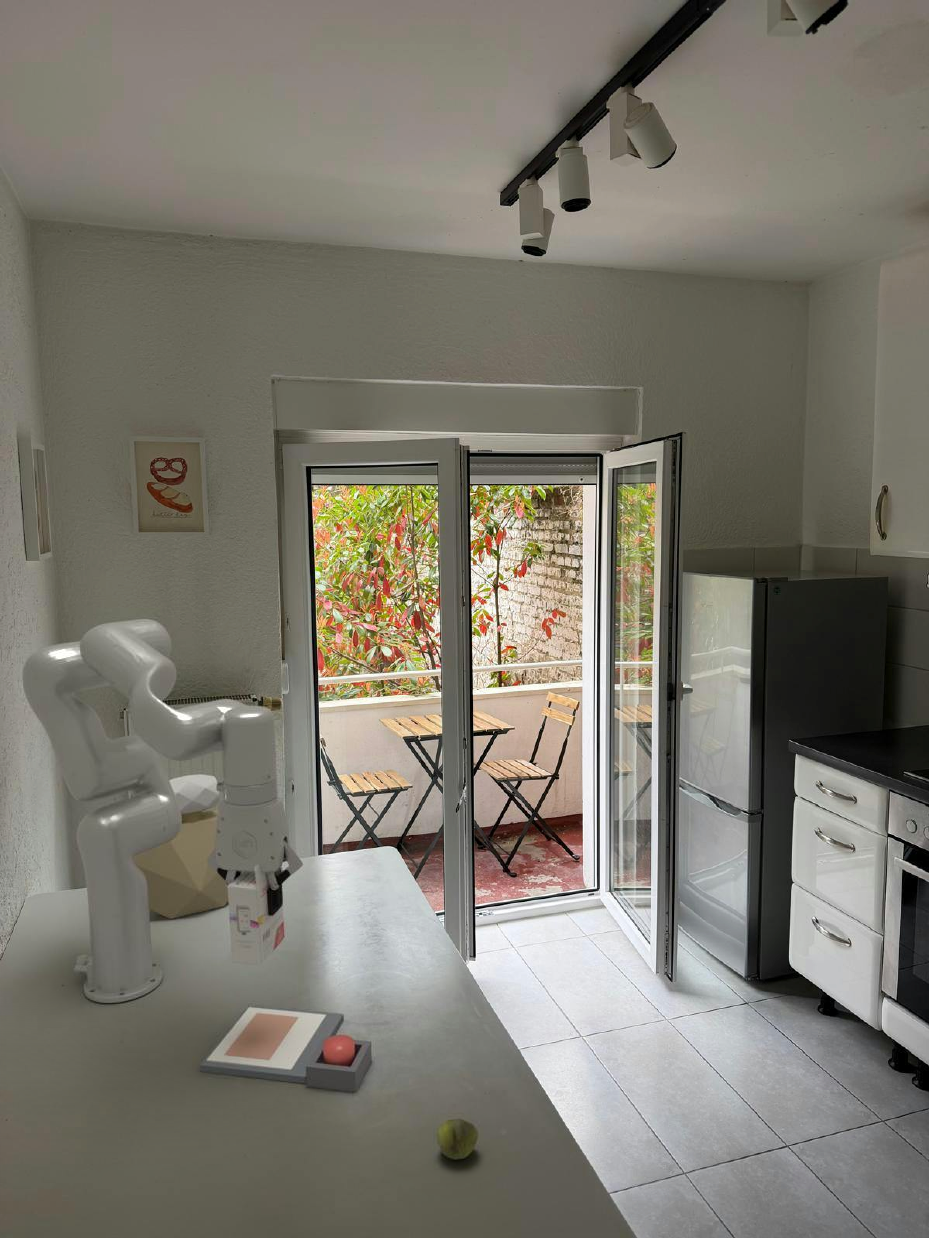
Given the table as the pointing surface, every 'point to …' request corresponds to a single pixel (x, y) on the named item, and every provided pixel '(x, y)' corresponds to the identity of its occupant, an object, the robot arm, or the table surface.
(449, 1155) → the lime
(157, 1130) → the table surface
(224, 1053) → the sketch board
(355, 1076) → the button housing
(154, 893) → the perfume bottle
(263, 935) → the ink cartridge box
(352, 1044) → the button
